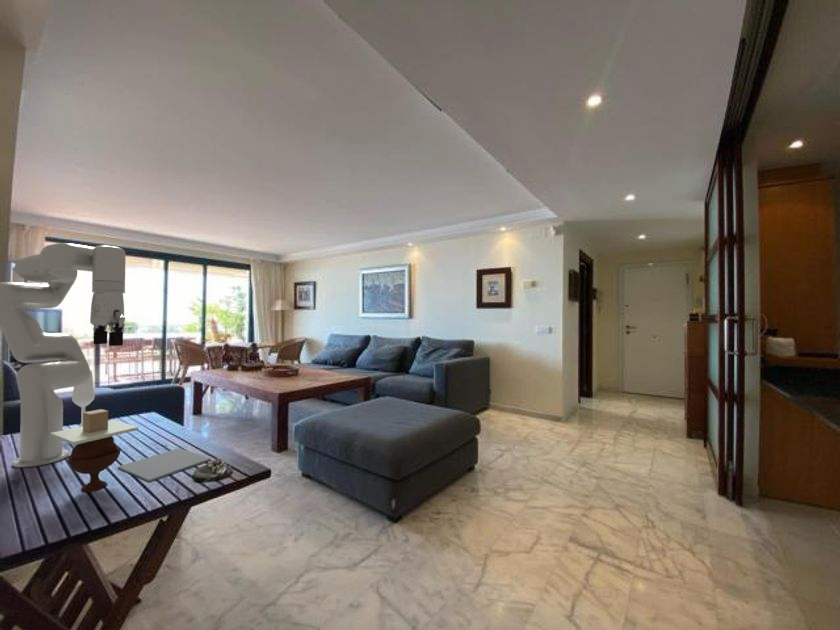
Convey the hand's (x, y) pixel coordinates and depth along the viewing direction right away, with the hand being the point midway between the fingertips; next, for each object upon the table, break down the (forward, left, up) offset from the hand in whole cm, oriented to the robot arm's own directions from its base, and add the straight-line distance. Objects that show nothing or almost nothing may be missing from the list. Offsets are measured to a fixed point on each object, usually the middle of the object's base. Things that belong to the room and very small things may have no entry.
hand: (108, 344), depth 109 cm
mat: (+9, +12, -38) cm, 41 cm away
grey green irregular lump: (+28, +15, -39) cm, 50 cm away
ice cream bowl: (+9, -6, -38) cm, 40 cm away
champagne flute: (-53, +13, -38) cm, 67 cm away
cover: (+9, -6, -23) cm, 26 cm away
